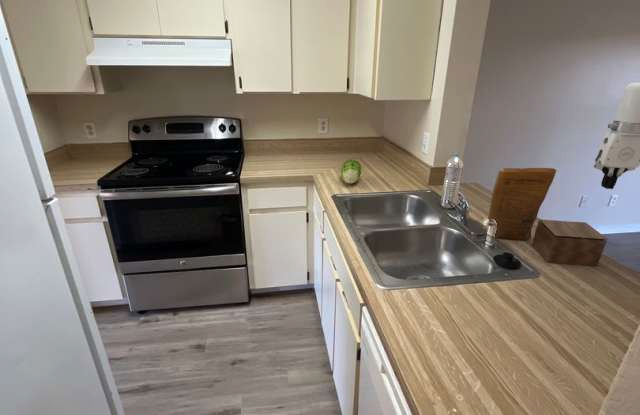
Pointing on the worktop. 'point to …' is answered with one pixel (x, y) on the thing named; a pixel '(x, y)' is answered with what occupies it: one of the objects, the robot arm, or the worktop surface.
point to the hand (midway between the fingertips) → (606, 187)
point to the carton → (566, 244)
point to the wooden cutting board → (518, 200)
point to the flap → (584, 230)
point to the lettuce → (351, 171)
